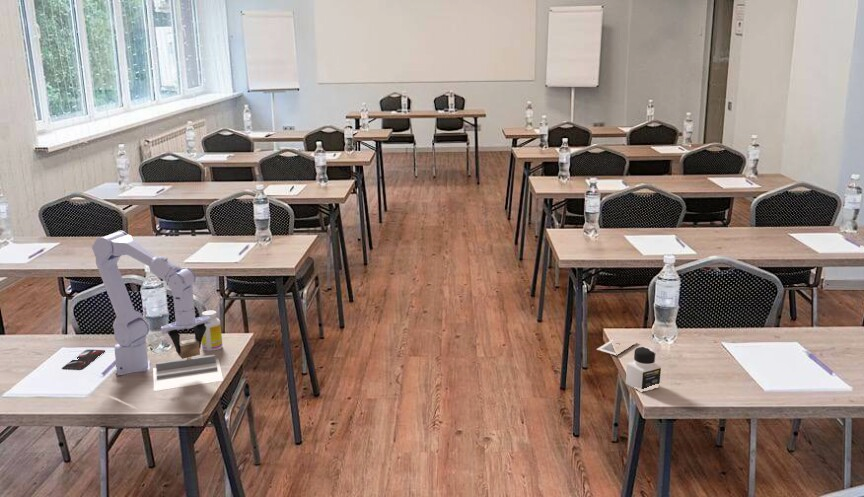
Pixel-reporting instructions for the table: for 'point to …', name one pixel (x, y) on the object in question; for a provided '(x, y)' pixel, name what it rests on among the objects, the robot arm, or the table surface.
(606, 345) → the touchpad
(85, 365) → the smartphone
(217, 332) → the supplement bottle
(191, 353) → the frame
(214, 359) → the wall board
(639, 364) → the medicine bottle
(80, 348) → the table surface
